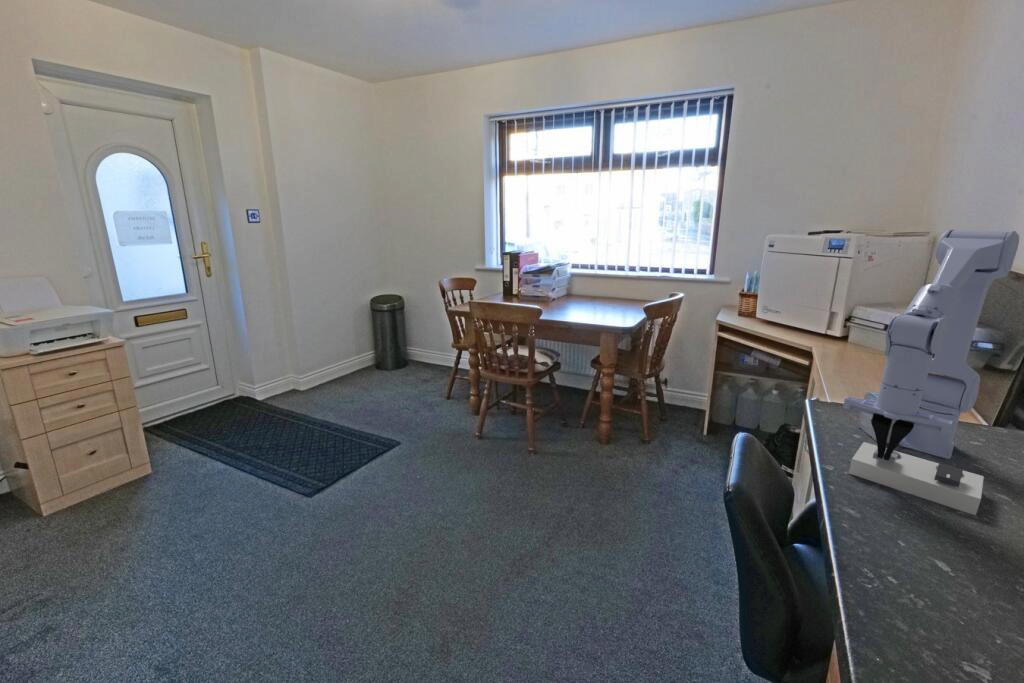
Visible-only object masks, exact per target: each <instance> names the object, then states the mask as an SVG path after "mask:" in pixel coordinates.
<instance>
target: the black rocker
mask: <svg viewBox="0 0 1024 683" xmlns="http://www.w3.org/2000/svg"><path fill="white" fill-rule="evenodd" d="M938 463H939V465H938V469H937V472H936V475H935V479H934V480H937V481H940V482H943V483H947V484H950V485H953V486H956V487H959V484H960V480H961V476H962V472H963V471H964V470H963V469H961V468H958V467H954V466H950V465H947V464H945V463H940V462H938Z"/></svg>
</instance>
